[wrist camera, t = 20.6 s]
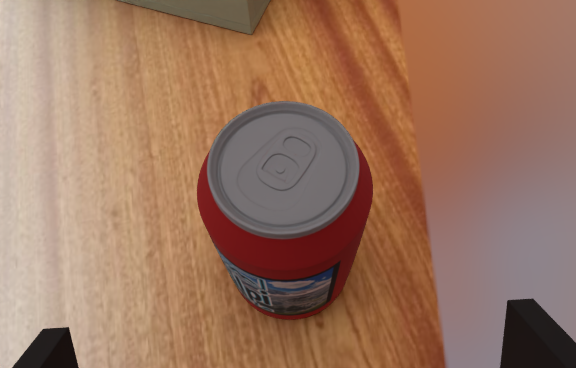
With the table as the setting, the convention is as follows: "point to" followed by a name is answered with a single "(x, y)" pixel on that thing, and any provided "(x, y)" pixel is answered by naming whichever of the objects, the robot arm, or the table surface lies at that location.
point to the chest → (212, 11)
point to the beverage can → (286, 206)
